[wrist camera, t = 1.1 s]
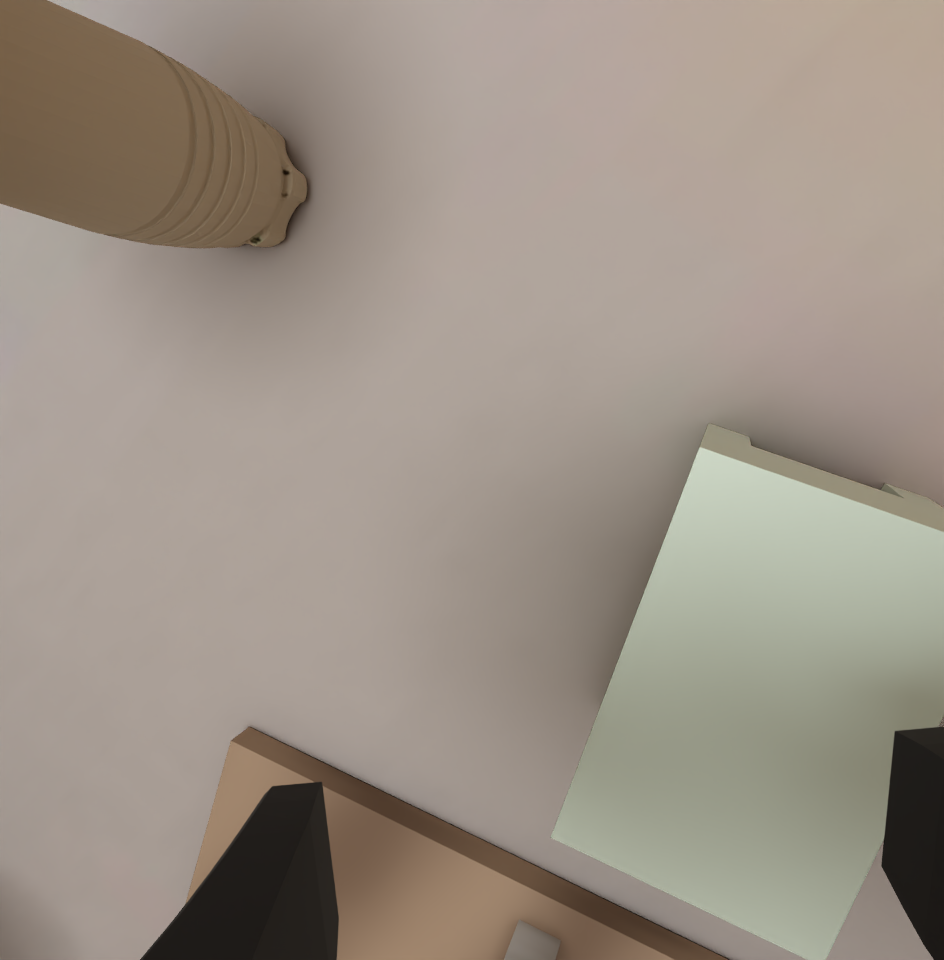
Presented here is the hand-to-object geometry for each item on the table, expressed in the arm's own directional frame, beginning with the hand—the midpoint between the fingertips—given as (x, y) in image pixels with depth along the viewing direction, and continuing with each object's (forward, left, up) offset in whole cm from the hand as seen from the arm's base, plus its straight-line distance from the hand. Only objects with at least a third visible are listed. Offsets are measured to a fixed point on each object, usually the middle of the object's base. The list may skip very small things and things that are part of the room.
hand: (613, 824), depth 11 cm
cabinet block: (-2, 0, -12) cm, 12 cm away
